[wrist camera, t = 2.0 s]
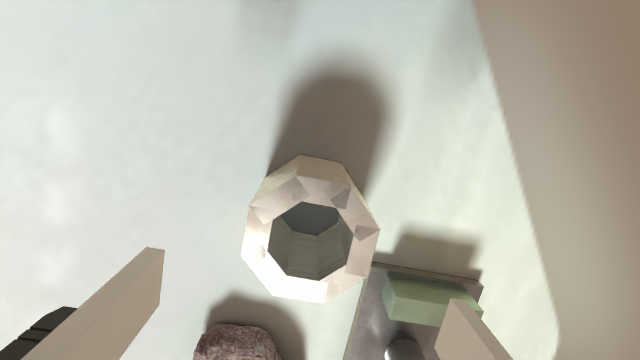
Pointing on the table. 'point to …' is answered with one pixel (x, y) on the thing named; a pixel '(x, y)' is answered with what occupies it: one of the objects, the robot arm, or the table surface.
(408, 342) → the stand
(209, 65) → the table surface
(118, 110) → the table surface
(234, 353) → the rock
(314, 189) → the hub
